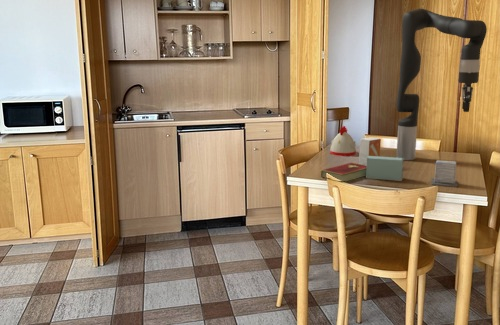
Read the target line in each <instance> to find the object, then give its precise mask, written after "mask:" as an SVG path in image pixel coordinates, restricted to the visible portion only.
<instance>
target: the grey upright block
mask: <svg viewBox="0 0 500 325" xmlns="http://www.w3.org/2000/svg"><path fill="white" fill-rule="evenodd" d="M456 170H457V161H453V160H451V161H450V160H436V161H435V169H434V179H435V182H440V183H453V184H455V180H456V173H457V172H456Z"/></svg>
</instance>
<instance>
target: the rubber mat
mask: <svg viewBox="0 0 500 325" xmlns="http://www.w3.org/2000/svg"><path fill="white" fill-rule="evenodd" d="M430 182H431V184H430V185H431V186H436V185H438V187H448V186H450V187H451V188H452V187H453V188H458V180H456V179H455V184H453V183H440V182H435V178H434V177H433V178H432V177H431V181H430ZM450 187H449V188H450Z"/></svg>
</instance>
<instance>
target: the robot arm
mask: <svg viewBox="0 0 500 325" xmlns="http://www.w3.org/2000/svg"><path fill="white" fill-rule="evenodd" d="M426 28H434V29H437V31H439V32H440V33H443V34H446V35H451V36H456V37H459V38H463V39H469V40H468V43H467V44H465V45H463V46H462V48H461V54H460V63H459V69H458V71H459V72H458V83H460V84H463V85H462V87H461V98H462V104H461V105H462V107H461V109H462V110H463V111H462V112H464V113H469V112H470V108H471V107H470V106H471V102H472V99H473V91H474V87H473V86H472V85H473V84H478V83H479V78H480V66H481V65H480V64H481V61H480V60H481V49H482V46H483V44H484V41H485V39H486V36H487V29H488V28H487V24H486V22H484V20H477V19H476V20H475V19H463V18H461V17H454V16H448V15H442V14H438V13H436V12H433V11H431V10H429V9H425V8H416V9H413V10H408V11H407V12H405V13H404V14H403V17H402V22H401V36H402V37H401V40H402V41H401V56H400V65H399V81H398V83H399V84H398V88H397V89H398V90H397V97H396V105H395V106H396V107H395V108H396V111H397V112H399V113H410V114H409V115H408V116H406V117H404V118H399V119H398V122H397V123H398V125H397V137H396V138H397V139H396V140H397V142H396V156H395V158H404V161H414V160H415V159H416V147H417V136H418V135H417V134H418V133H417V131H418V118H419V111H420V110H419V109H420V96H419V94H417V93H406V91H407V89H408V87H409V86H410V84H411V83H412V82H413V81H414V79H416V77H417V76H418V75H419V73H420V71H421V64H422V56H421V55H422V54H421V53H420V51H419V49H418V47H417V45H416V33H417V31H420V30H423V29H426Z"/></svg>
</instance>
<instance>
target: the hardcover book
mask: <svg viewBox="0 0 500 325" xmlns="http://www.w3.org/2000/svg"><path fill="white" fill-rule="evenodd" d="M366 168H367V166H366V165H361V164H359V163H356V162H348V163H345V164H339V165H336V166H331V167H328V168H324V169H321V171H320V177H322V178H323V177H325V178H324V179H327V178H326V173H328V174H330V175H332V176H333V177H335V178H337V179H340V180H342V181H345V182H348V181H351V180H355V179H359V178H361V177H366Z"/></svg>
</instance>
